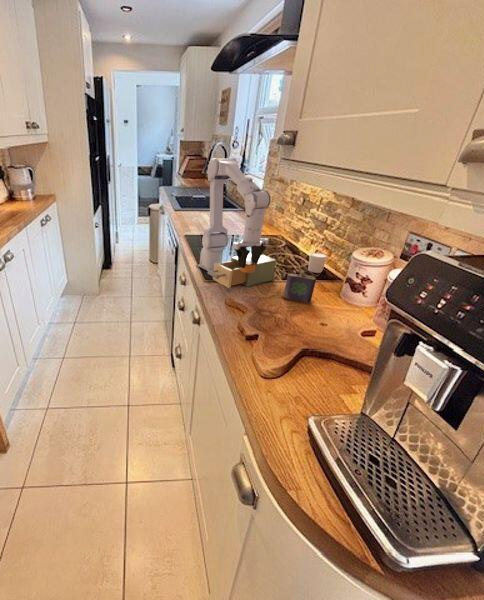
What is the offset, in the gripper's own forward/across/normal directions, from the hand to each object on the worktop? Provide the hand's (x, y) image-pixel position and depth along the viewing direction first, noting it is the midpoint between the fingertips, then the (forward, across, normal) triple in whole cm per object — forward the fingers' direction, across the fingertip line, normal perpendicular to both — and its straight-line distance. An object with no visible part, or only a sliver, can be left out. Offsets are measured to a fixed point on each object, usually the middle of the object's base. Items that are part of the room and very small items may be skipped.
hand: (247, 265), depth 116 cm
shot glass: (+10, +43, +2) cm, 44 cm away
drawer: (+9, -1, +8) cm, 12 cm away
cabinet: (+10, +11, +8) cm, 17 cm away
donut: (+2, 0, 0) cm, 2 cm away
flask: (+10, +12, -14) cm, 21 cm away
